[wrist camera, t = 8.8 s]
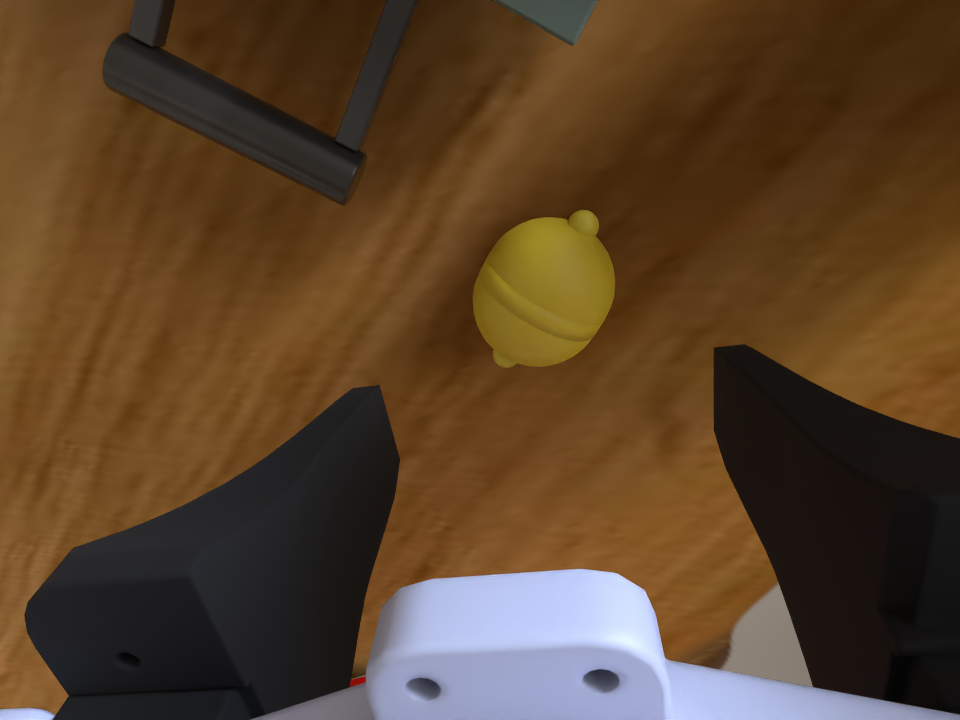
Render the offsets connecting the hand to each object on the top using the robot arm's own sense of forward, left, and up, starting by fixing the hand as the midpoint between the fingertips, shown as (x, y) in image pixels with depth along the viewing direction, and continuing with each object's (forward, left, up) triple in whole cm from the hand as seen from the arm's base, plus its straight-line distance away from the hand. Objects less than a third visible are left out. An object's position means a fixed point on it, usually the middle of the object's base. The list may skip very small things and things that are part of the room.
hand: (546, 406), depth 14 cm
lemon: (0, 0, -8) cm, 8 cm away
